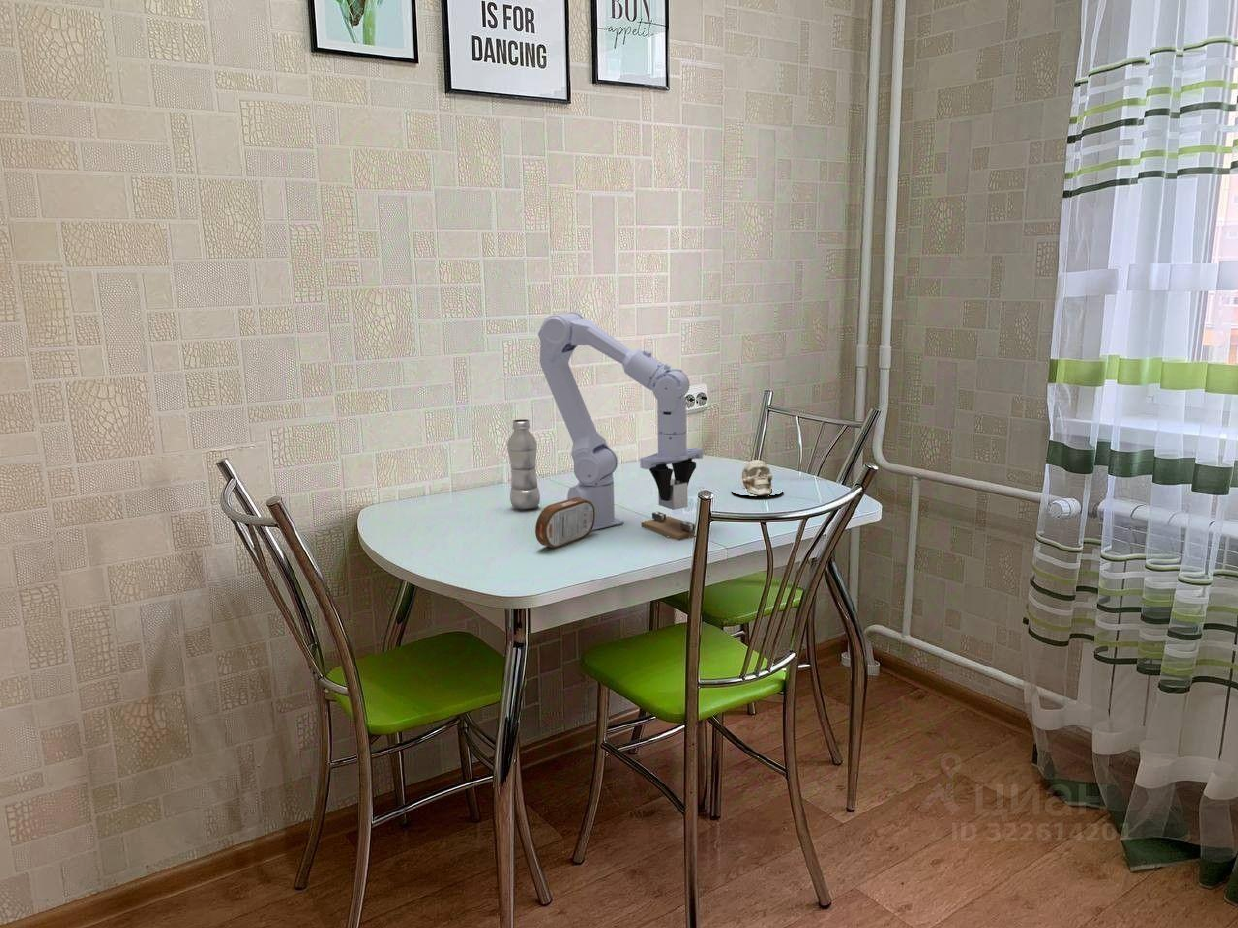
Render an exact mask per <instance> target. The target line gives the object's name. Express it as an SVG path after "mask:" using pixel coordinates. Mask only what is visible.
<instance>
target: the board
mask: <svg viewBox="0 0 1238 928" xmlns="http://www.w3.org/2000/svg"><path fill="white" fill-rule="evenodd" d="M680 522H685V521H683V520H681V519H677V518H675V517H671V516H669V515H668V516H667V515H666V520H664V522H659V521H658V520H654V519H651V520H650V519H649V520H645V521H641V528H644V529H646V530H648V531H651V532H654V531H655V532H654V533H657V532H658V533H657V534H659V533H660V535H662V534H663V535H662V536H665V535H666V536H665V537H667V536H669V537H668V538H670V537H671V539H673V540H675V539H676V540H675V541H682V540H686V539H689V537H690V538H693V537H695V536H694V534H695V530H693V532H687V531H686V530H685V531H684V530H682V529H681V528H680ZM696 526H697V525H695V528H696Z"/></svg>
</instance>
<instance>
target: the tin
mask: <svg viewBox="0 0 1238 928" xmlns="http://www.w3.org/2000/svg"><path fill="white" fill-rule="evenodd" d="M594 518H595V512H594V506H593V504H592V503H591V502H590V501H588V500H585V499H582V498H580V497H574V498H571V499H568V500H567V499H565V500H562V501H558V502H556V503H551V504H548V505H547V506H545V507H544V508H543V509H542V510H541V511H540V513H539V515H538V516H537V519H536V521H535V528H534V531H535V532H534V533H535V538H536V541H537V542H538V543H539V544H540V545H542V546H543V547H548V548H551V549H558V548H561V547H564V546H566V545H569V544H572V543H575V542H577V541H581V540H583V539H585V538H587V536H588V535H589V534H590V533H591V532H592V531H593V530H592V528H593V525H594Z"/></svg>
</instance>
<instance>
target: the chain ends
mask: <svg viewBox="0 0 1238 928" xmlns="http://www.w3.org/2000/svg"><path fill="white" fill-rule="evenodd" d="M666 517H667V514H666V513H663V512H661V511H655V512H652V513H651V520H653V519H654V520H658V521H659V522H664V520H666ZM695 526H696V524H695V523H692V522H689V521H687V520H686V521H684V522H680V528H681V529H682V530H684V531H685V530H686V531H687V532H693V530H695Z"/></svg>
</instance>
